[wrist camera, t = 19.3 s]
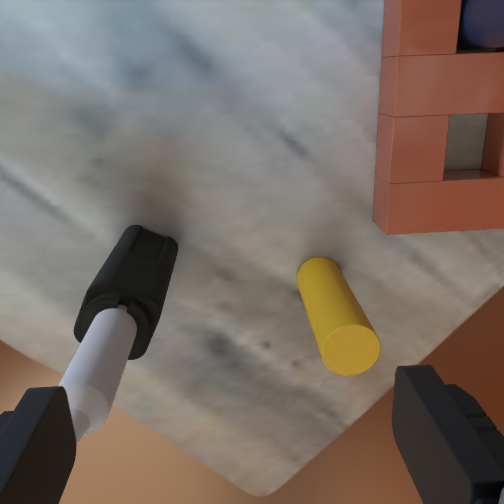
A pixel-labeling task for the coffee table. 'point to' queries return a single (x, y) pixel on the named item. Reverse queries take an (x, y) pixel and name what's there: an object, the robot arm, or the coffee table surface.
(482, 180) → the peg stand
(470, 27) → the navy peg
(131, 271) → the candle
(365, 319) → the yellow peg
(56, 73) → the coffee table surface
